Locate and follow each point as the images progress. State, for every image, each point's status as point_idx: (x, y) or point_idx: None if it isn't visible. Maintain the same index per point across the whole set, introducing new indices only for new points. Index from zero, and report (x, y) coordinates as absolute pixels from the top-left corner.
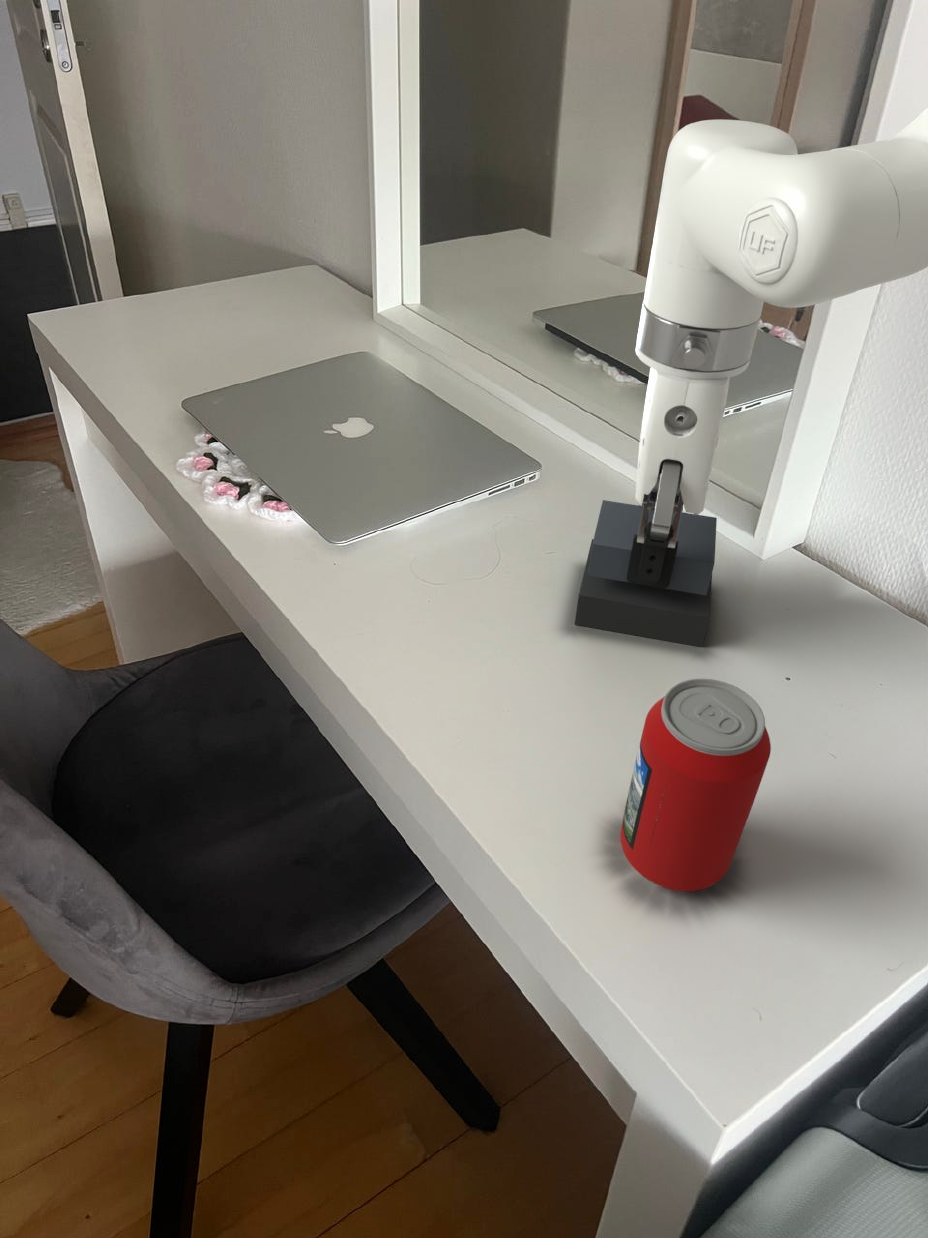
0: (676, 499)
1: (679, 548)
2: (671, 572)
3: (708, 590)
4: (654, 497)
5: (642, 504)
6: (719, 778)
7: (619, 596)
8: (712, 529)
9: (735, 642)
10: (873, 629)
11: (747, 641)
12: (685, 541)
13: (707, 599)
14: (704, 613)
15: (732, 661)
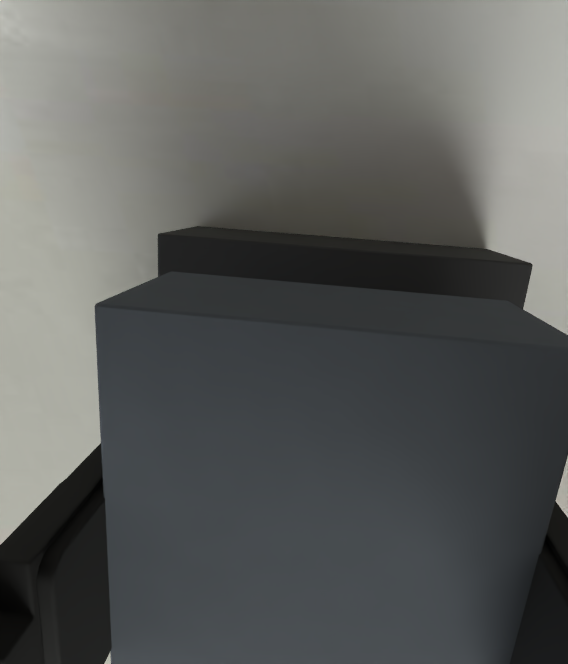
0: (68, 570)
1: (458, 520)
2: (557, 510)
3: (365, 260)
4: (77, 658)
5: (107, 652)
6: None
7: None
8: (231, 338)
9: (451, 144)
10: None
11: (442, 104)
12: (387, 488)
13: (422, 267)
14: (512, 283)
15: (545, 159)
